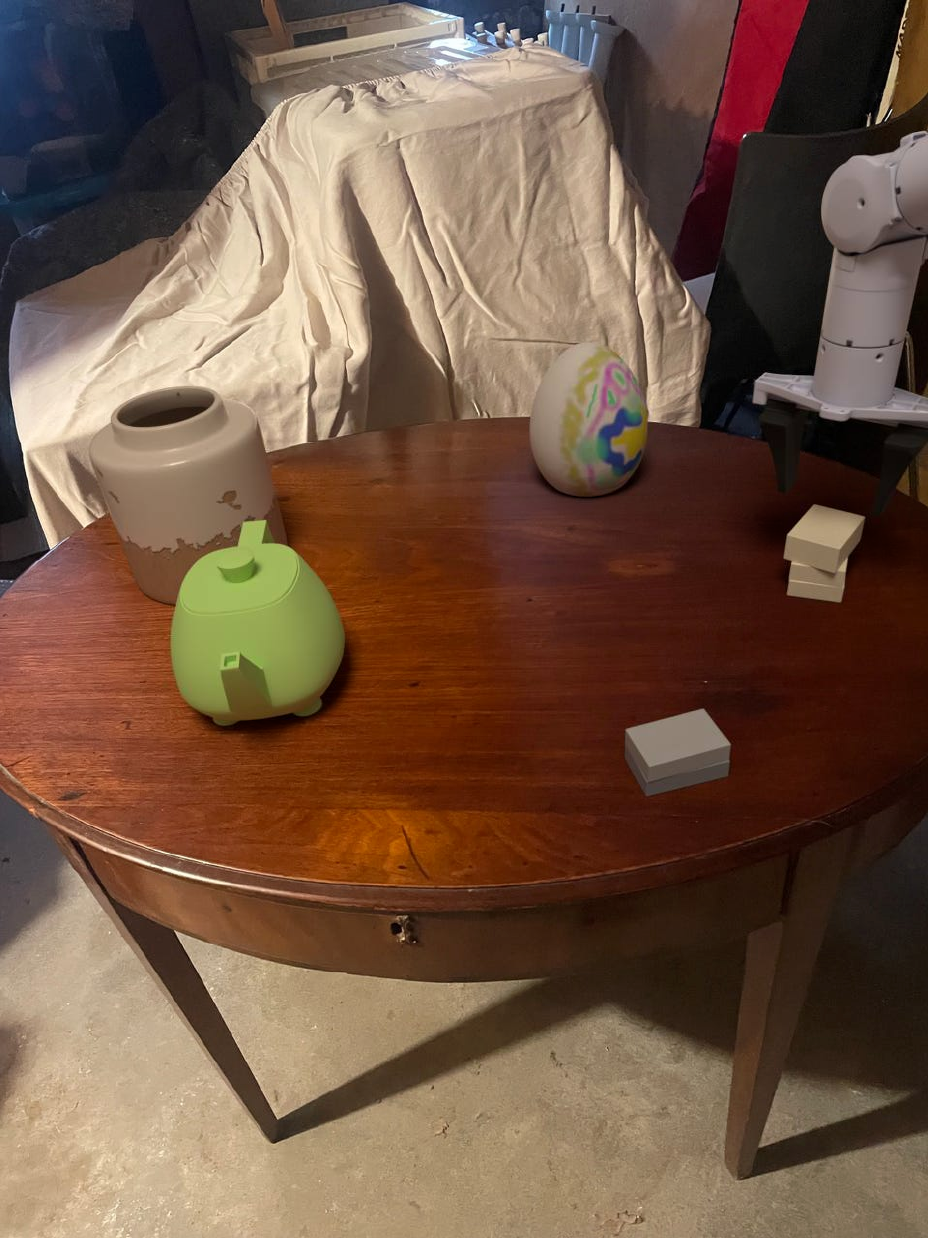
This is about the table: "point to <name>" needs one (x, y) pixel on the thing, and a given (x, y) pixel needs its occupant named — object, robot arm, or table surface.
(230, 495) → the vase
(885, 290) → the robot arm
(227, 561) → the teapot
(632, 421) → the decorative egg
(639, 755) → the grey box
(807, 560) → the cream rectangular block
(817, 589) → the cream seamed block
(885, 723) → the table surface
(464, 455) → the table surface
